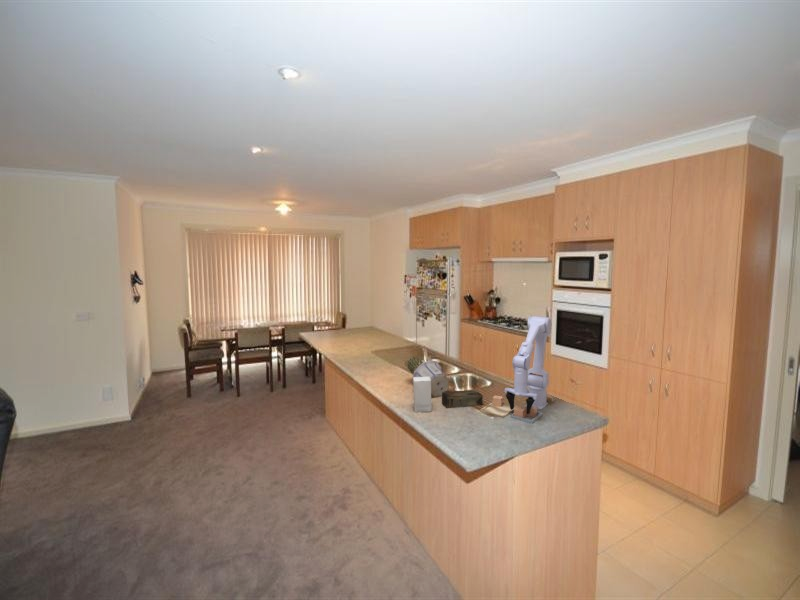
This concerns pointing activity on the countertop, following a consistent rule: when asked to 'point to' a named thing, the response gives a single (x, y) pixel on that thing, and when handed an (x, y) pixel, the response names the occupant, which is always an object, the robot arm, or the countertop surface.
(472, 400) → the beverage carton
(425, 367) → the potted plant
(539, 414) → the slate dish
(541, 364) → the robot arm
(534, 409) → the chunk
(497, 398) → the chunk
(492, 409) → the birch tray
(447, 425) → the countertop surface
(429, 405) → the skincare box
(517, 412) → the chunk
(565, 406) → the countertop surface
